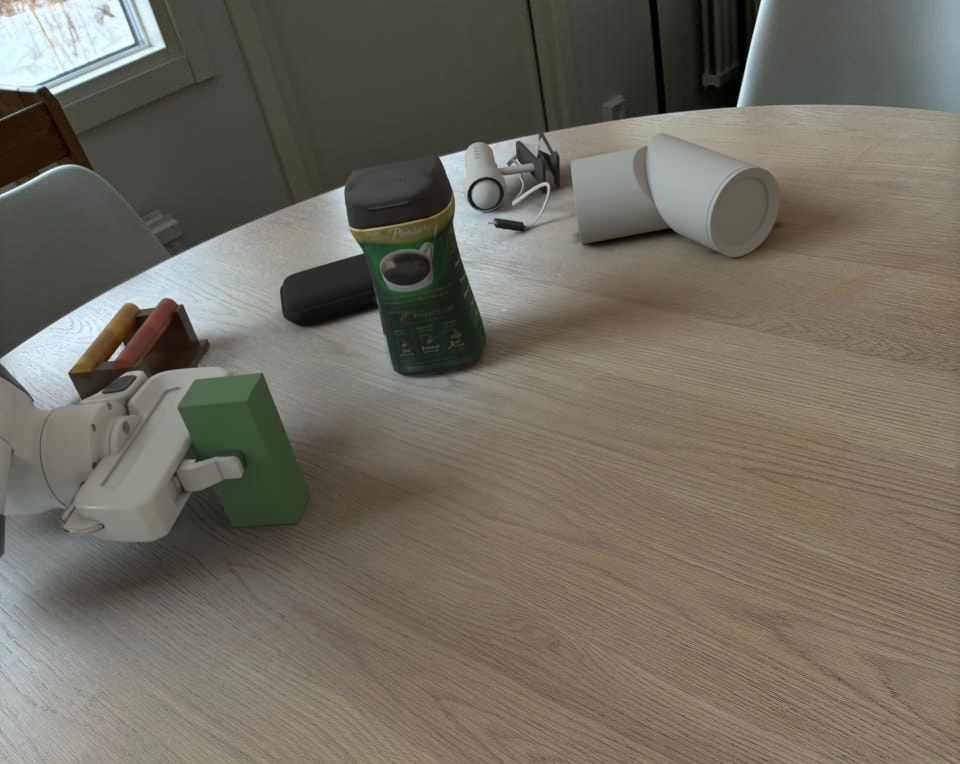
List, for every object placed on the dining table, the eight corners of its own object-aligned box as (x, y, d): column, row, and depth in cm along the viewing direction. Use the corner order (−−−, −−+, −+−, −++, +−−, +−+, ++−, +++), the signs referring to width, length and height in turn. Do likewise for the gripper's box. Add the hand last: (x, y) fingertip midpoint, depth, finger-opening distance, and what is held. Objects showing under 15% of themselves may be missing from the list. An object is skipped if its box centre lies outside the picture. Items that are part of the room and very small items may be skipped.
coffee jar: (490, 330, 105) (450, 138, 92) (484, 371, 99) (439, 173, 87) (398, 343, 107) (345, 158, 94) (386, 384, 101) (329, 193, 89)
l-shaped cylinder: (758, 171, 116) (578, 205, 119) (759, 78, 107) (565, 117, 110) (785, 275, 106) (587, 309, 109) (788, 182, 97) (574, 222, 101)
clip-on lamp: (574, 245, 122) (552, 158, 132) (573, 196, 116) (550, 109, 126) (473, 260, 122) (459, 171, 132) (468, 211, 116) (453, 123, 127)
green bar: (232, 527, 89) (176, 406, 81) (247, 499, 92) (194, 379, 84) (297, 523, 87) (246, 400, 79) (310, 494, 90) (263, 372, 82)
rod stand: (81, 419, 109) (53, 367, 105) (130, 354, 118) (106, 304, 114) (166, 411, 107) (141, 357, 102) (210, 345, 116) (188, 293, 111)
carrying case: (289, 339, 113) (420, 301, 113) (279, 313, 110) (413, 275, 111) (283, 298, 120) (406, 263, 120) (274, 274, 118) (400, 237, 118)
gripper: (29, 502, 79) (193, 490, 75) (135, 360, 93) (277, 344, 90) (68, 565, 83) (225, 556, 80) (163, 421, 97) (300, 408, 94)
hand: (253, 443), depth 85 cm, fingers closed on green bar, 4 cm apart
